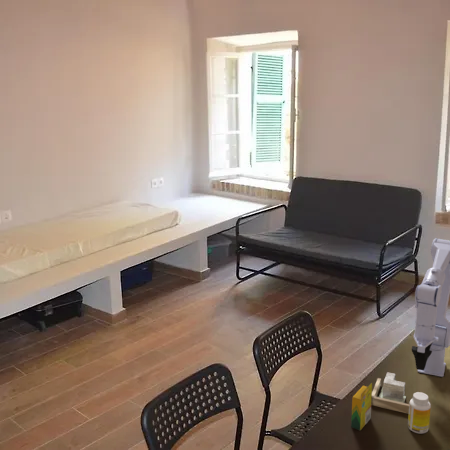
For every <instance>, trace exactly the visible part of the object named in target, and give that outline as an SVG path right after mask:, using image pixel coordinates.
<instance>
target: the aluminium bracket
mask: <svg viewBox="0 0 450 450" xmlns="http://www.w3.org/2000/svg"><path fill="white" fill-rule="evenodd" d="M382 388H383V396H382V397H385V398H390V399H394V400H398V401H403V399H404V396H405V390H406V389H405V388H406V382H405V381H399V380H396V373H393V372H388V371H387V372H386V375H385V378H384V380H383V384H382Z"/></svg>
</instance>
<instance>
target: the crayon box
mask: <svg viewBox="0 0 450 450" xmlns="http://www.w3.org/2000/svg"><path fill="white" fill-rule="evenodd" d="M359 388H360V389H358V390H357V391H356V393H355V394H353V396H352V399H351V400H352V401H351V418H350V419H351V421H350V422H351V423H350V424H351V426H350V427H351V428H353V429H355V430H357V431H362V429H363V428H364V427H365V425H367V424H368V422H369V421H370V420H371V417H372V415H371V414H372V405H371V399H372V392H373V382H371V383H370V384H369V385H368V386H367V385H366V386H365V385H364V384H363V385H362V386H361V387H359Z"/></svg>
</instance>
